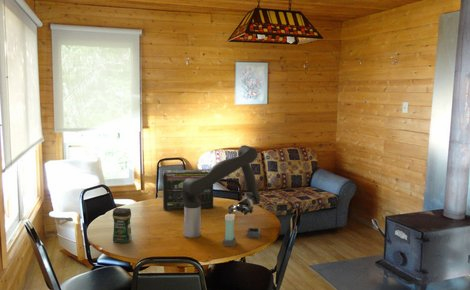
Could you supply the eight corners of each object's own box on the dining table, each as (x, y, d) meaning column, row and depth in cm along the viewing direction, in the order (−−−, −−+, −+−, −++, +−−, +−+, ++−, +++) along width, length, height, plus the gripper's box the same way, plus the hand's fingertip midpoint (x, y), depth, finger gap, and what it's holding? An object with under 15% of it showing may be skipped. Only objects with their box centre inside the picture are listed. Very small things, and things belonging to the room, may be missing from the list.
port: (247, 237, 238) (247, 231, 237) (248, 233, 244) (248, 227, 244) (259, 238, 237) (259, 232, 236) (260, 234, 244) (260, 228, 243)
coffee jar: (110, 242, 227) (110, 209, 224) (117, 237, 234) (116, 205, 232) (127, 244, 225) (127, 210, 223) (133, 239, 233) (132, 206, 231)
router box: (212, 204, 305) (212, 168, 301) (213, 209, 294) (214, 171, 290) (162, 206, 299) (162, 169, 295) (162, 210, 288) (162, 172, 284)
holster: (222, 245, 225) (222, 240, 224) (224, 241, 231) (224, 236, 230) (234, 246, 224) (234, 241, 223) (236, 242, 230) (236, 237, 230)
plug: (224, 244, 226) (225, 209, 223) (227, 242, 230) (227, 207, 227) (232, 245, 225) (232, 210, 222) (234, 243, 229) (234, 208, 226)
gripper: (234, 197, 255) (225, 205, 240) (256, 199, 251) (249, 207, 235) (234, 209, 256) (225, 217, 241) (256, 211, 252) (249, 220, 236)
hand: (237, 212), depth 238 cm, fingers open, 8 cm apart
